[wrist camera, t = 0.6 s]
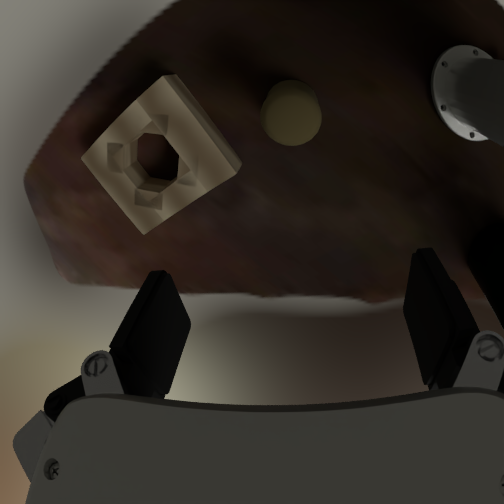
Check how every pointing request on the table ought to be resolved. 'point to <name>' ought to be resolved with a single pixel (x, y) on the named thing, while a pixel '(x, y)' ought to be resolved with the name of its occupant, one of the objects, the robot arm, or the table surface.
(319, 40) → the table surface
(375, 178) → the table surface
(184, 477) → the robot arm
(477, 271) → the wine bottle
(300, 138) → the cork
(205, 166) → the jig
